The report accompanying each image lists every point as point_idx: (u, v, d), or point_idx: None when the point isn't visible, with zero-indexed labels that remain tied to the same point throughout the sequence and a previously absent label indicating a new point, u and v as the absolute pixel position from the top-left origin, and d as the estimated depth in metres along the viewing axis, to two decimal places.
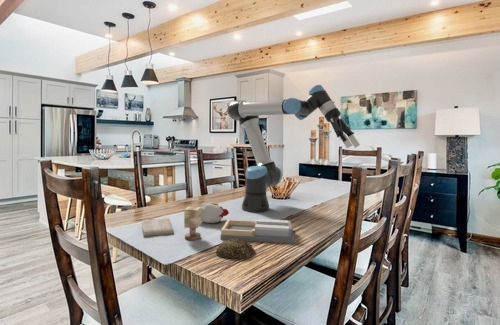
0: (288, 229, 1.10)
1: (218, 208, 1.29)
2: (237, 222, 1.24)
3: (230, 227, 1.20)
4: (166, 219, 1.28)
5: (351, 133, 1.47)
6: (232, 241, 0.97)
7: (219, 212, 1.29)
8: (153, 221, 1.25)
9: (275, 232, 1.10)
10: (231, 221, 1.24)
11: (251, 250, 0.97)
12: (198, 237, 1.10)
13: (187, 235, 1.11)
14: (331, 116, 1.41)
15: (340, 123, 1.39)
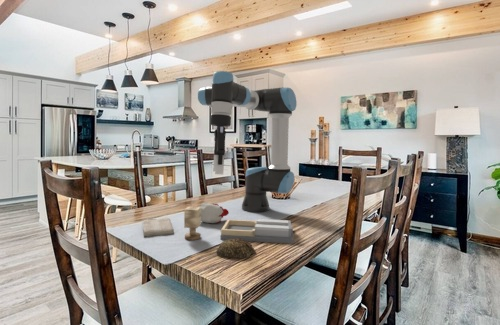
0: (288, 229, 1.10)
1: (218, 208, 1.29)
2: (237, 222, 1.24)
3: (230, 227, 1.20)
4: (167, 219, 1.28)
5: None
6: (232, 241, 0.97)
7: (219, 212, 1.29)
8: (154, 221, 1.25)
9: (275, 232, 1.10)
10: (231, 221, 1.24)
11: (251, 250, 0.97)
12: (198, 237, 1.10)
13: (187, 235, 1.11)
14: None
15: (214, 139, 1.09)
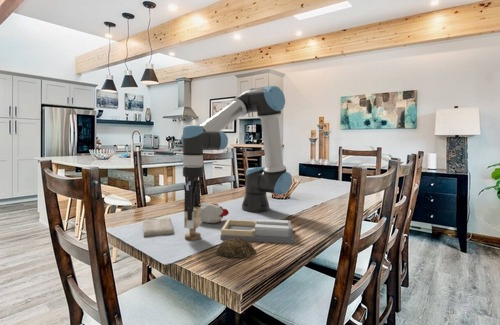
0: (288, 229, 1.10)
1: (218, 208, 1.29)
2: (237, 222, 1.24)
3: (230, 227, 1.20)
4: (167, 219, 1.28)
5: None
6: (233, 241, 0.98)
7: (219, 212, 1.29)
8: (154, 221, 1.25)
9: (275, 232, 1.10)
10: (231, 221, 1.24)
11: (251, 250, 0.97)
12: (198, 237, 1.10)
13: (187, 235, 1.11)
14: None
15: None
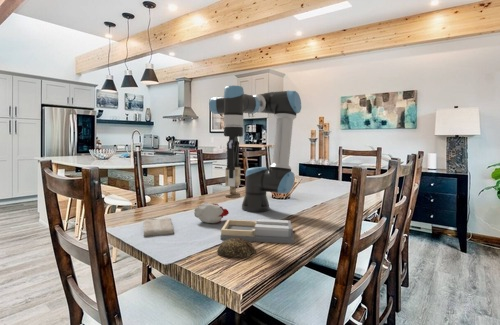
0: (288, 229, 1.10)
1: (218, 208, 1.29)
2: (237, 222, 1.24)
3: (230, 227, 1.20)
4: (168, 219, 1.28)
5: None
6: (233, 240, 0.98)
7: (219, 212, 1.29)
8: (155, 221, 1.26)
9: (275, 232, 1.10)
10: (231, 221, 1.24)
11: (252, 249, 0.97)
12: (238, 195, 1.14)
13: (228, 194, 1.14)
14: None
15: None
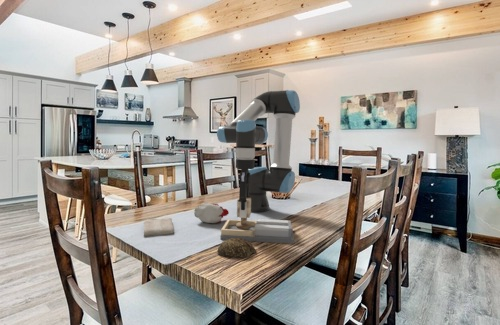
0: (288, 229, 1.10)
1: (218, 208, 1.29)
2: (237, 222, 1.24)
3: (230, 227, 1.20)
4: (168, 219, 1.28)
5: None
6: (233, 240, 0.98)
7: (219, 212, 1.29)
8: (155, 221, 1.26)
9: (275, 232, 1.10)
10: (231, 221, 1.24)
11: (252, 249, 0.97)
12: (249, 226, 1.16)
13: (239, 224, 1.16)
14: None
15: None
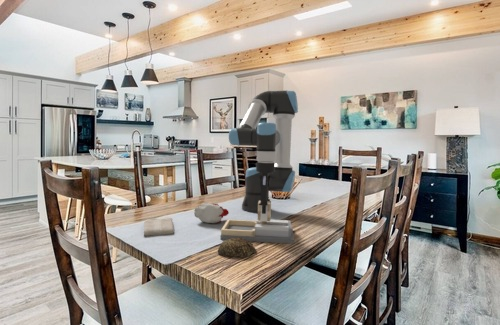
0: (288, 229, 1.10)
1: (218, 208, 1.29)
2: (237, 222, 1.24)
3: (230, 227, 1.20)
4: (169, 219, 1.28)
5: None
6: (233, 240, 0.98)
7: (219, 212, 1.29)
8: (156, 220, 1.26)
9: (275, 232, 1.10)
10: (231, 221, 1.24)
11: (252, 249, 0.98)
12: None
13: None
14: None
15: None
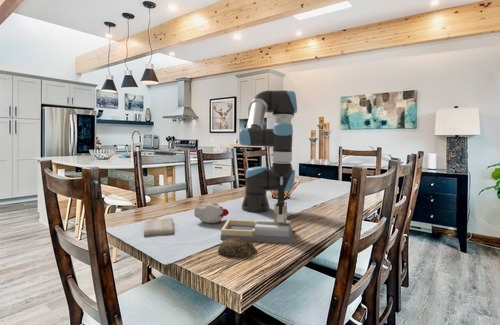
0: (288, 229, 1.10)
1: (218, 208, 1.29)
2: (237, 222, 1.24)
3: (230, 227, 1.20)
4: (169, 219, 1.28)
5: None
6: (234, 240, 0.98)
7: (219, 212, 1.29)
8: (156, 220, 1.26)
9: (275, 232, 1.10)
10: (231, 221, 1.24)
11: (252, 249, 0.98)
12: None
13: None
14: None
15: None
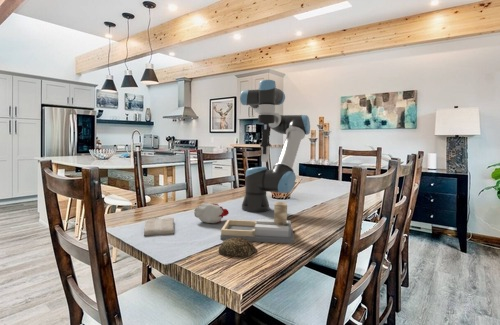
0: (288, 229, 1.10)
1: (218, 208, 1.29)
2: (237, 222, 1.24)
3: (230, 227, 1.20)
4: (170, 219, 1.28)
5: None
6: (234, 240, 0.99)
7: (219, 212, 1.29)
8: (157, 220, 1.26)
9: (275, 232, 1.10)
10: (231, 221, 1.24)
11: (253, 249, 0.98)
12: None
13: None
14: None
15: None
